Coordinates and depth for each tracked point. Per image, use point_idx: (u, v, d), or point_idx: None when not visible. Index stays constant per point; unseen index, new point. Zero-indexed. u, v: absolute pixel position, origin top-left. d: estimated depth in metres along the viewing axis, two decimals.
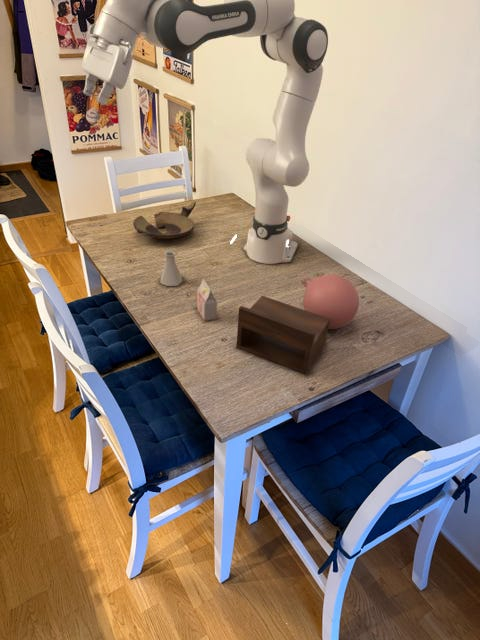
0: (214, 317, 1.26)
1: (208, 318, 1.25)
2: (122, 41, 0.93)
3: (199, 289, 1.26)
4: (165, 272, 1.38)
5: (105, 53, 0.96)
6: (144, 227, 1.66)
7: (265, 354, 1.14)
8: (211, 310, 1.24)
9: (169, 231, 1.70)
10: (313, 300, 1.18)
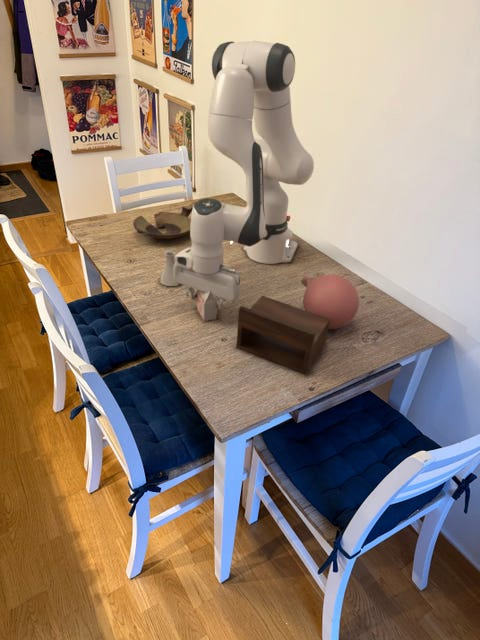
0: (214, 317, 1.26)
1: (208, 318, 1.25)
2: (225, 269, 1.16)
3: None
4: (165, 272, 1.38)
5: (209, 277, 1.19)
6: (144, 227, 1.66)
7: (265, 354, 1.14)
8: (211, 310, 1.24)
9: (169, 231, 1.70)
10: (313, 300, 1.18)
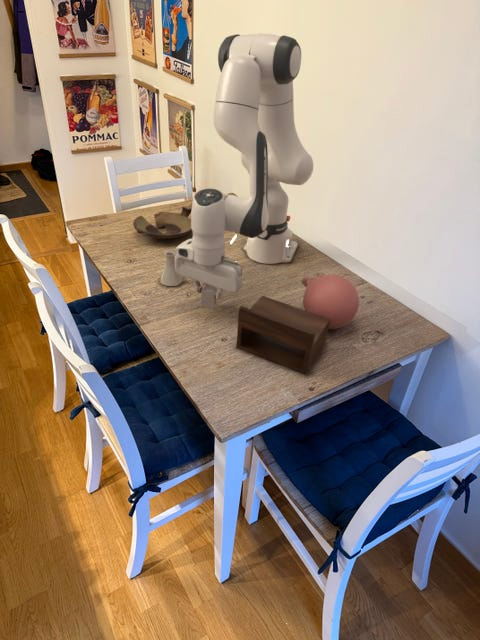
0: (212, 307, 1.26)
1: (205, 306, 1.26)
2: (226, 260, 1.14)
3: None
4: (165, 272, 1.38)
5: (211, 269, 1.17)
6: (144, 227, 1.66)
7: (265, 354, 1.14)
8: (208, 299, 1.24)
9: (169, 231, 1.70)
10: (313, 300, 1.18)
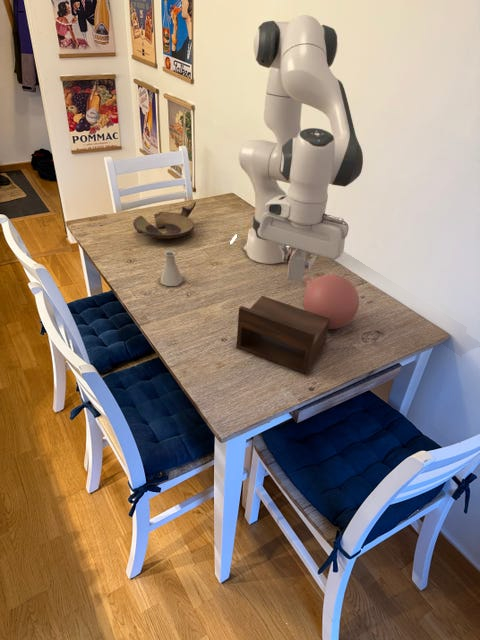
0: (300, 279, 1.06)
1: (292, 278, 1.06)
2: (329, 218, 0.95)
3: None
4: (165, 272, 1.38)
5: (307, 230, 0.98)
6: (144, 227, 1.66)
7: (265, 354, 1.14)
8: (297, 269, 1.04)
9: (169, 231, 1.70)
10: (313, 300, 1.18)
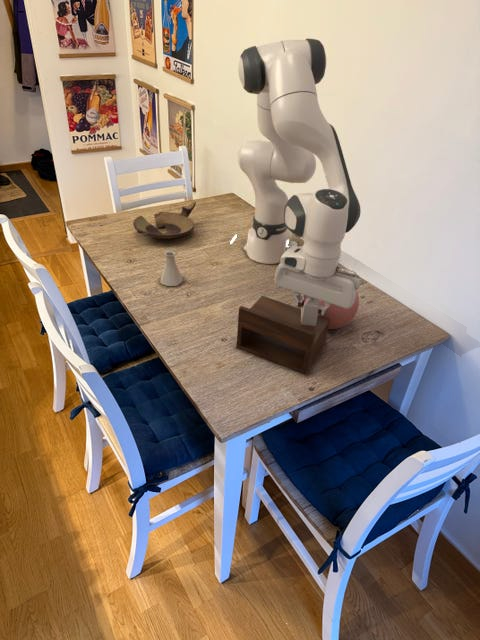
0: (313, 323, 1.11)
1: (306, 322, 1.11)
2: (342, 271, 1.00)
3: None
4: (165, 272, 1.38)
5: (321, 281, 1.03)
6: (144, 227, 1.66)
7: (265, 354, 1.14)
8: (311, 314, 1.10)
9: (169, 231, 1.70)
10: None
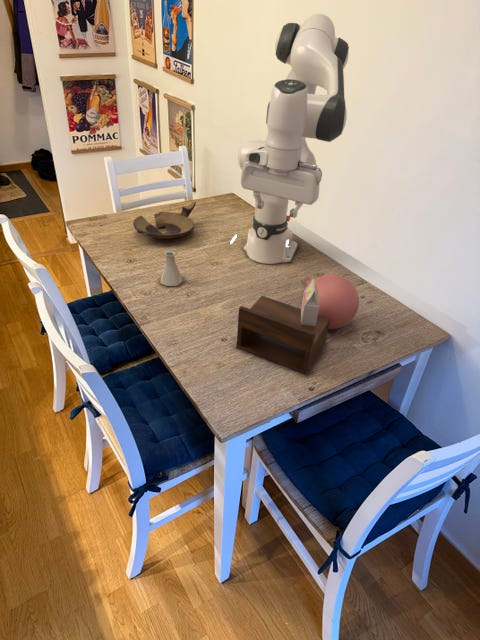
0: (313, 323, 1.11)
1: (306, 322, 1.11)
2: (304, 164, 1.03)
3: (306, 289, 1.12)
4: (165, 272, 1.38)
5: (285, 177, 1.05)
6: (144, 227, 1.66)
7: (265, 354, 1.14)
8: (311, 314, 1.10)
9: (169, 231, 1.70)
10: None
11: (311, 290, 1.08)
